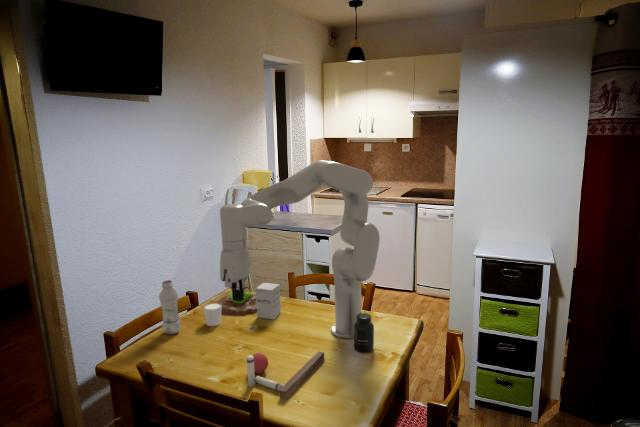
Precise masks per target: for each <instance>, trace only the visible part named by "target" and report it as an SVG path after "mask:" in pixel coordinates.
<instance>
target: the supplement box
mask: <svg viewBox="0 0 640 427" xmlns="http://www.w3.org/2000/svg"><path fill="white" fill-rule="evenodd" d="M280 288H281V287H280V284H278V283H270V282H262V283H261V284H259V285H258V286H257V287H256V288H255V295H256V299H257V312H256V315H257V316H256V317H257V318H260V319H266V320H267V319H268V320H272V321H273V320H275V319H276V318H277V317H278V316H279V315H280V314H281V289H280Z"/></svg>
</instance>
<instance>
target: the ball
mask: <svg viewBox="0 0 640 427" xmlns="http://www.w3.org/2000/svg"><path fill="white" fill-rule="evenodd" d="M252 356H254V373H255V374H261V373H263V372H265V371H266V370H267V369H268V367H269V359H268V357H267V356H266V355H265V354H264V353H262V352H256V353H254V354H252Z"/></svg>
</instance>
